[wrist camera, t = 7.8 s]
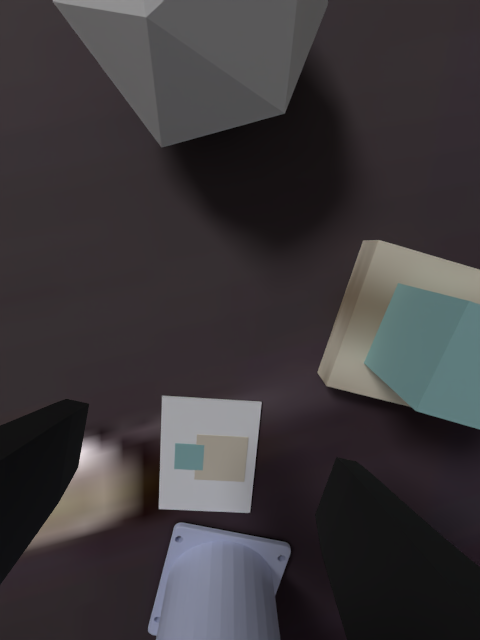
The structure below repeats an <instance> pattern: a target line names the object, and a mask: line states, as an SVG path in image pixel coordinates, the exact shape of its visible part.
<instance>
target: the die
mask: <svg viewBox="0 0 480 640" xmlns="http://www.w3.org/2000/svg"><path fill="white" fill-rule="evenodd" d="M53 3H54V4H55V5H56V7H57V8H58V9H59V11H60V12H61V13H62V15H63V16H64V17H65V19H66V20H67V21H68V23H69V24H70V25H71V27H72V28H73V29H74V31H75V32H76V33H77V35H78V36H79V37H80V39H81V40H82V41H83V43H84V44H85V45H86V47H87V48H88V49H89V51H90V52H91V53H92V55H93V56H94V58H95V59H96V60H97V62H98V63H99V64H100V66H101V67H102V68H103V70H104V71H105V72H106V74H107V75H108V76H109V78H110V79H111V80H112V82H113V83H114V84H115V86H116V87H117V88H118V90H119V91H120V92H121V94H122V95H123V96H124V98H125V99H126V100H127V102H128V103H129V104H130V106H131V107H132V108H133V110H134V111H135V112H136V114H137V115H138V117H139V118H140V119H141V121H142V122H143V123H144V125H145V126H146V127H147V129H148V130H149V131H150V133H151V134H152V135H153V137H154V138H155V139H156V141H157V142H158V143H159V145H160V146H161V147H165V146H169V145H173V144H176V143H180V142H184V141H187V140H191V139H195V138H198V137H202V136H205V135H209V134H213V133H216V132H220V131H224V130H227V129H231V128H234V127H238V126H242V125H245V124H249V123H253V122H256V121H260V120H263V119H267V118H271V117H274V116H278V115H282V114H285V112H286V109H287V107H288V104H289V102H290V99H291V97H292V94H293V91H294V89H295V86H296V84H297V81H298V79H299V76H300V74H301V71H302V69H303V66H304V63H305V61H306V58H307V56H308V53H309V51H310V48H311V46H312V43H313V41H314V38H315V36H316V33H317V30H318V28H319V25H320V23H321V20H322V18H323V15H324V13H325V10H326V8H327V5H328V0H53Z"/></svg>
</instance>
